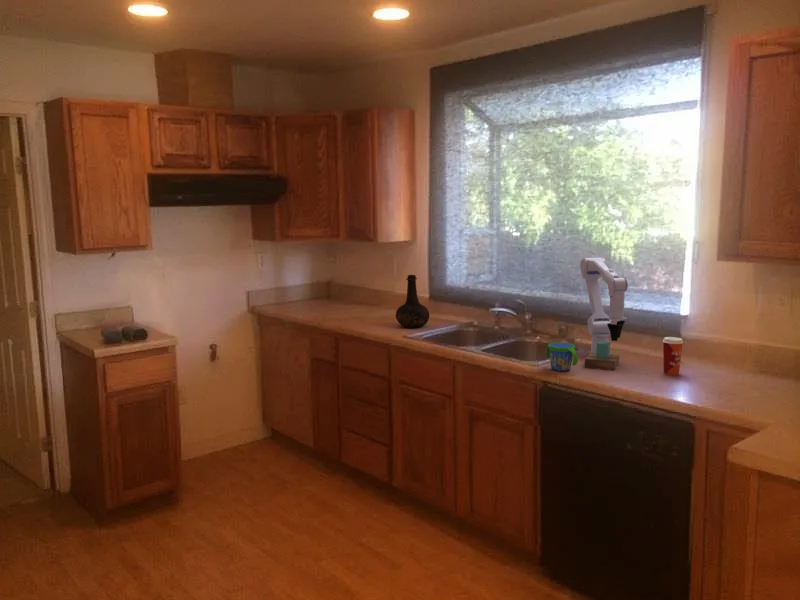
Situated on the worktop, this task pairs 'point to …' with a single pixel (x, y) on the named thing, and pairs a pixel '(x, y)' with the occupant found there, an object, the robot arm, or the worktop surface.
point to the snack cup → (561, 356)
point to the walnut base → (602, 362)
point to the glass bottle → (412, 308)
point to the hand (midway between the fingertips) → (615, 339)
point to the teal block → (603, 350)
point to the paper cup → (672, 355)
